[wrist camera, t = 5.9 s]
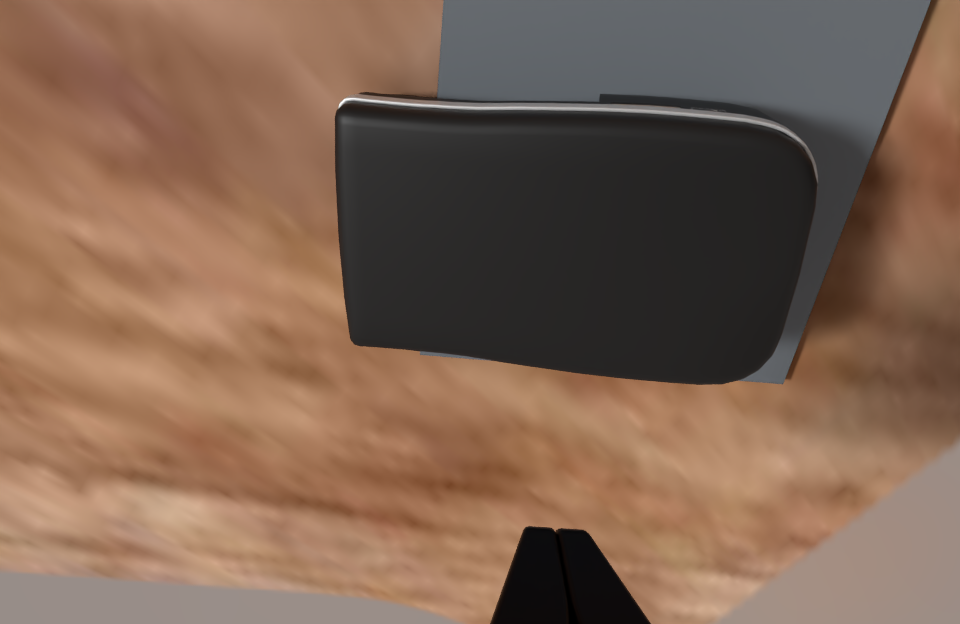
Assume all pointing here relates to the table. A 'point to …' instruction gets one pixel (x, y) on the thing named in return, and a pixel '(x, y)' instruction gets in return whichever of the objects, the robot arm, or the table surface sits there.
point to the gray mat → (706, 81)
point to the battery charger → (573, 231)
